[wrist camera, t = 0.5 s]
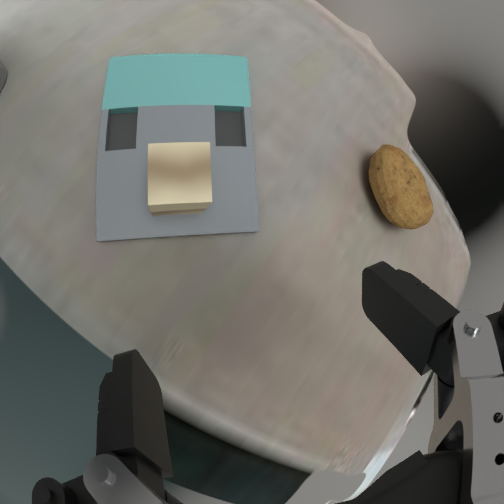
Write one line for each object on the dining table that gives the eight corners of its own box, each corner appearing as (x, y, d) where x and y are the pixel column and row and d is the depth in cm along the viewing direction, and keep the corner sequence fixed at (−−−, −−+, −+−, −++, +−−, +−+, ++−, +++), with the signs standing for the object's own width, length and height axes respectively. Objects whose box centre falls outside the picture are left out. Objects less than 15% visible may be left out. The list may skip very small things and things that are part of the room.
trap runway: (255, 232, 39) (259, 231, 37) (100, 241, 33) (96, 241, 31) (243, 64, 39) (247, 57, 37) (111, 64, 33) (109, 57, 31)
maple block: (202, 213, 35) (212, 202, 27) (152, 215, 33) (147, 205, 26) (200, 164, 35) (209, 142, 27) (151, 166, 33) (148, 143, 26)
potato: (378, 143, 45) (409, 129, 38) (414, 213, 47) (448, 208, 40) (342, 167, 43) (374, 153, 35) (384, 243, 45) (419, 241, 37)
